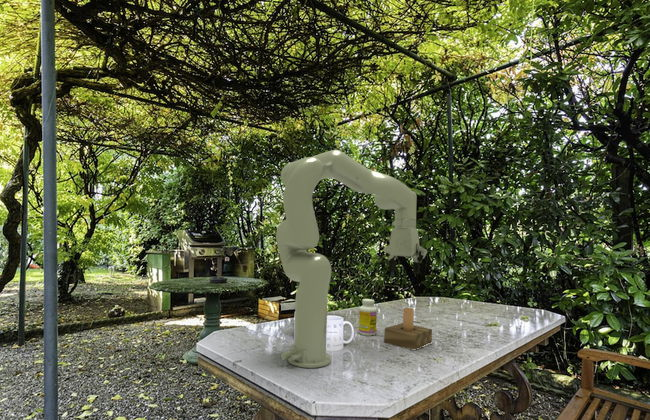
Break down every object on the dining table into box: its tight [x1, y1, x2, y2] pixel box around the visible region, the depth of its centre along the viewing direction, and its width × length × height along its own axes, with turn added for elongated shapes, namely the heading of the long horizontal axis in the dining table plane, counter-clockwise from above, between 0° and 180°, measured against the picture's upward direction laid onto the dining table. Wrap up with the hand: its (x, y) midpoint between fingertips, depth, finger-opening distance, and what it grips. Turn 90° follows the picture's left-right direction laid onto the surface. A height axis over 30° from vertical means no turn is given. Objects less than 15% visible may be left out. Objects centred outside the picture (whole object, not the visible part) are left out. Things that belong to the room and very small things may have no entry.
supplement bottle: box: [358, 298, 378, 337], centre depth 140 cm, size 7×7×13 cm
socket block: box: [383, 322, 433, 350], centre depth 129 cm, size 12×12×5 cm
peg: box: [402, 307, 415, 331], centre depth 129 cm, size 4×4×12 cm
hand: (403, 272), depth 131 cm, fingers open, 9 cm apart
